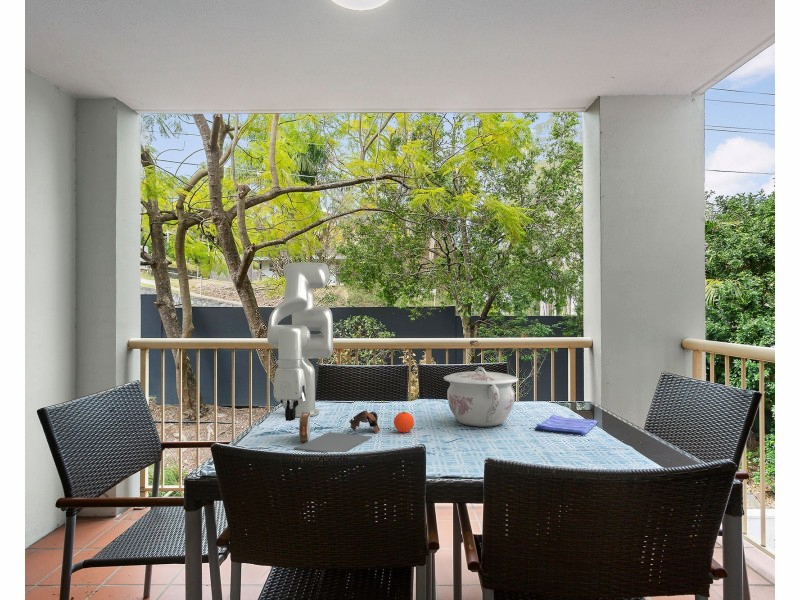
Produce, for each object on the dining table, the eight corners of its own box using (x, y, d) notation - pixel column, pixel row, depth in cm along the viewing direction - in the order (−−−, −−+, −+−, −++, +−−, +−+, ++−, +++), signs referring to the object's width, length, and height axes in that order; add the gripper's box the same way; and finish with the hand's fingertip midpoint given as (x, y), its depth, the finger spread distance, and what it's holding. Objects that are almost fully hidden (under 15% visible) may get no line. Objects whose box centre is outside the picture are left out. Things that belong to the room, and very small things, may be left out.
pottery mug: (375, 437, 196) (362, 416, 195) (354, 446, 200) (341, 426, 200) (389, 421, 206) (377, 401, 206) (369, 430, 211) (357, 410, 210)
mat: (293, 449, 178) (293, 447, 178) (329, 433, 199) (329, 432, 199) (340, 454, 172) (340, 453, 172) (372, 437, 193) (372, 436, 193)
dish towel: (533, 432, 202) (533, 424, 202) (551, 419, 223) (551, 412, 223) (584, 438, 194) (584, 429, 194) (598, 424, 215) (598, 416, 214)
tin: (302, 435, 197) (301, 410, 197) (312, 434, 197) (310, 409, 197) (299, 445, 182) (297, 417, 182) (309, 444, 182) (307, 417, 182)
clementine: (394, 429, 205) (394, 408, 205) (414, 429, 205) (414, 409, 205) (393, 434, 197) (393, 413, 197) (413, 434, 197) (413, 413, 197)
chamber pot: (461, 412, 233) (461, 361, 233) (528, 420, 220) (528, 365, 219) (429, 426, 209) (429, 368, 209) (502, 435, 195) (502, 374, 195)
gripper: (264, 364, 191) (264, 420, 191) (303, 366, 185) (303, 424, 185) (277, 362, 198) (277, 416, 198) (315, 364, 192) (316, 419, 192)
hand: (290, 420), depth 192 cm, fingers closed
